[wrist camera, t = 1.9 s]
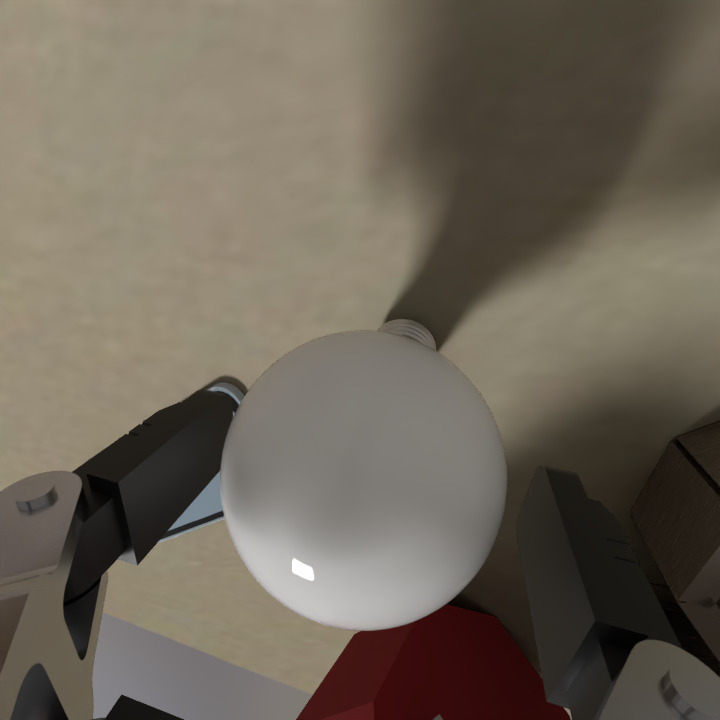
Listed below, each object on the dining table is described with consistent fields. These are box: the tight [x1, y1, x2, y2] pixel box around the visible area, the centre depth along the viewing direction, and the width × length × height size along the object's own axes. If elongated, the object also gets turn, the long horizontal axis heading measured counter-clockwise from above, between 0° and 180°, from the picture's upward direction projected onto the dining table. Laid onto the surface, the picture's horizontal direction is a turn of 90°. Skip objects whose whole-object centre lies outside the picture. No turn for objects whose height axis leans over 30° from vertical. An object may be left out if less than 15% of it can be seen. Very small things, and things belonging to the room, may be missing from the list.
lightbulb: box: [220, 319, 507, 631], centre depth 11 cm, size 6×6×11 cm
